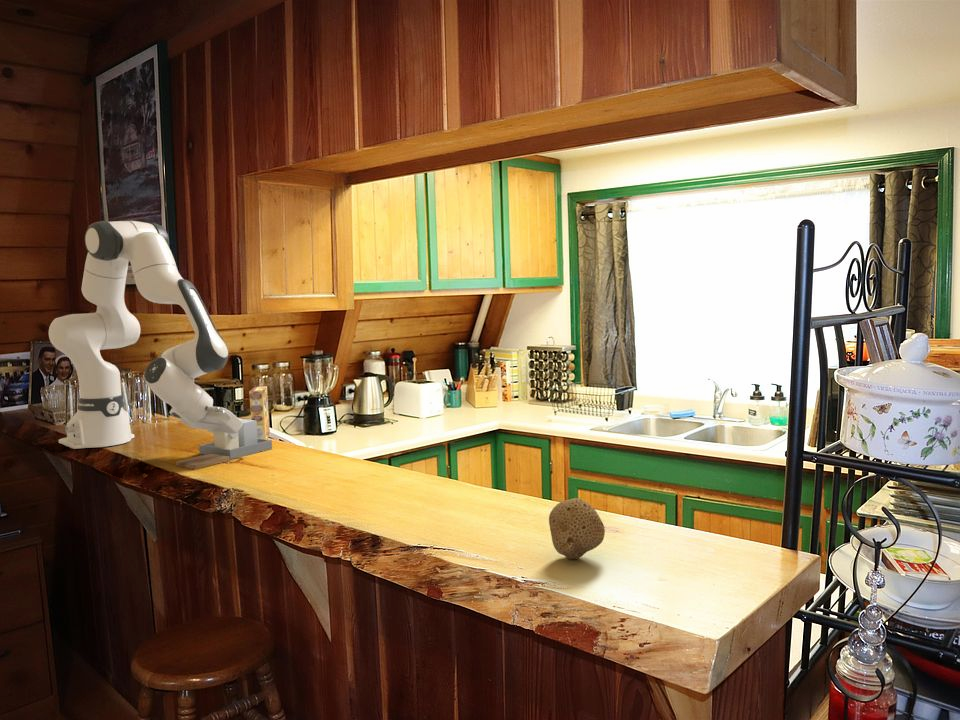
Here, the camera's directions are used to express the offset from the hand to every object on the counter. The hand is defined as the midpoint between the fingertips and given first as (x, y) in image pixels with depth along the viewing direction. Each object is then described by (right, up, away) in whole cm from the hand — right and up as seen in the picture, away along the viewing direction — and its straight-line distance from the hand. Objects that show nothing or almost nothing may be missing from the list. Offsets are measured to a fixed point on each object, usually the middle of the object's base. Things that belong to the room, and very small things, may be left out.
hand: (228, 435), depth 212 cm
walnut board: (-3, -6, -11) cm, 13 cm away
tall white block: (+3, -4, +5) cm, 8 cm away
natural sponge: (+85, -12, -86) cm, 122 cm away
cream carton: (0, -5, 0) cm, 5 cm away
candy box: (+4, -3, +20) cm, 20 cm away
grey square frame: (+1, -5, +2) cm, 5 cm away
